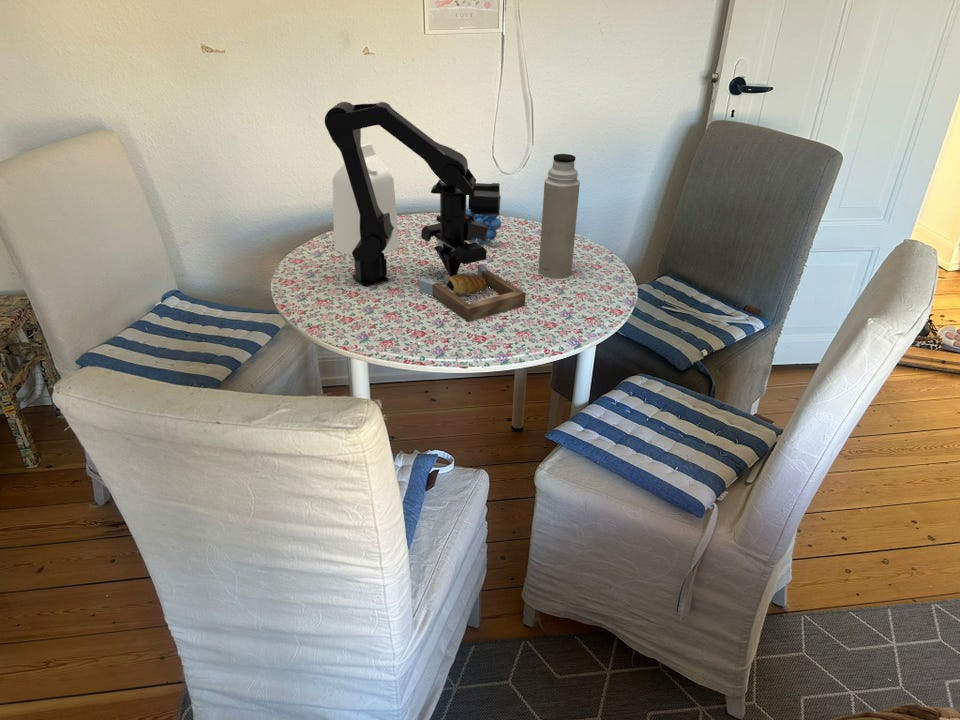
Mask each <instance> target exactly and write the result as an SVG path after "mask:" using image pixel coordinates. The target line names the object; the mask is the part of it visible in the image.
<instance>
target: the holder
mask: <svg viewBox="0 0 960 720" xmlns="http://www.w3.org/2000/svg"><path fill="white" fill-rule="evenodd" d="M477 276H480V277H483V278H484V279H485V280H486V282H487V286H488V287H487V288H489V287H490V288H491V289H490V288H489V289H490V290H492V289H493V290H494V292H495V291H496V292H497V293H496V292H495V293H496V294H498V293H499V294H498V295H496V296H492V297H489V298H485V299H482V300H477V301H474V302H471V303H469V302H467V301H465V300H464V299H463V298H461V296H460V297H459V296H457V295H455V294H454V293H452V292H451V291H449V290H448V289H447V288H446V286H443V284H440V283H439V282H437V281H434V280H431V279H428V278H425V277H423V278H420V279H418V284H419V285H418V287H419V288H418V290H419V293H420V292H422V293H421V294H423V293H425V294H424V295H426V294H428V295H427V296H429V295H431V296H430V297H432V296H433V297H432V298H433V299H435V298H436V299H437V300H436V299H435V300H436V301H438V302H439V303H441V304H442V305H444V306H445V307H446V308H448V309H450V310H451V311H452V312H454V314H456V315H458V316H459V317H460V318H462V319H463V320H465V321H466V322H467V323H470V322H472V321H476V320H479V319H483V318H486V317H490V316H493V315H496V314H500V313H503V312H506V311H509V310H510V311H511V310H514V309H517V308H521V307H524V306H526V295H527V294H526V293H527V292H525V291H523V290H522V289H520V288H518V287H516V286H515V285H513V284H511V283H510V282H509V281H506V280H504V279H503V278H502V277H500V276H498V275H497V274H494V273H493V272H491V271H490V270H489V269H488V268H487V267H486V265H485V264H484V263H481V264H479V263H477ZM493 290H492V291H493Z"/></svg>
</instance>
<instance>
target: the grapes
mask: <svg viewBox="0 0 960 720" xmlns="http://www.w3.org/2000/svg"><path fill="white" fill-rule="evenodd" d="M466 214H470V215H472V216H474V221H477V222H479V223H482V224H483V225H485V226H487V227H489V228H488V231H487V235H486V238H485V240H484V241H483V240H481V239H477V238H472V240H471V241H476V240H477V242H478V243H479V245H484V244H486V243H487V241H488V240H489V241H492V240H494V239H495V238H496V237H497V234H498V233H497V230H499V229H500V228H501V227H502V221H501V220H500V218H498V216H496V215H477V214H473V212H471V209H469V208H466Z"/></svg>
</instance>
